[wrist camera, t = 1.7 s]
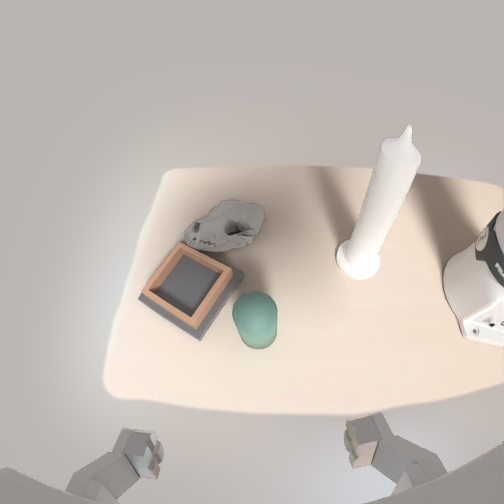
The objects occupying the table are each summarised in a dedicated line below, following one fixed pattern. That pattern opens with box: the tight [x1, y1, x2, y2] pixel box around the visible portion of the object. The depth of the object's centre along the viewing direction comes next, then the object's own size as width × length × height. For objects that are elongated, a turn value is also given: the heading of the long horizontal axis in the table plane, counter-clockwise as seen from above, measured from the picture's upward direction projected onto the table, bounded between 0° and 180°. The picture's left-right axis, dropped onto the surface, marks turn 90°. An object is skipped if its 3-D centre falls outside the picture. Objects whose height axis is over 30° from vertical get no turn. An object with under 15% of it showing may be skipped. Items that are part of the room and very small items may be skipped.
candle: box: [336, 124, 421, 280], centre depth 33 cm, size 7×7×25 cm
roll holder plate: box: [138, 242, 244, 341], centre depth 42 cm, size 12×12×3 cm
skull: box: [184, 200, 266, 252], centre depth 44 cm, size 8×9×12 cm
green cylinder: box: [232, 292, 277, 349], centre depth 36 cm, size 5×5×8 cm
